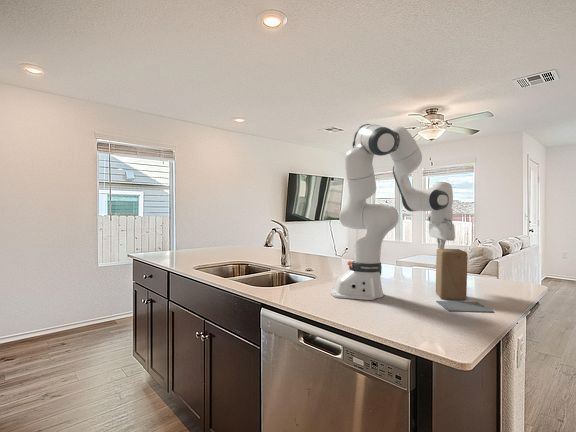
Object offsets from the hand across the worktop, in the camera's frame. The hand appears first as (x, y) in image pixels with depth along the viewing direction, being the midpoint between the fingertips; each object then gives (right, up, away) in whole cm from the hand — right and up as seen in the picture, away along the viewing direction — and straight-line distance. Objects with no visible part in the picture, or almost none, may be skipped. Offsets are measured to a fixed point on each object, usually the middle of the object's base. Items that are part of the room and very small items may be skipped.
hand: (440, 248), depth 150 cm
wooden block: (-1, -20, -10) cm, 22 cm away
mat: (-3, -20, -24) cm, 31 cm away
